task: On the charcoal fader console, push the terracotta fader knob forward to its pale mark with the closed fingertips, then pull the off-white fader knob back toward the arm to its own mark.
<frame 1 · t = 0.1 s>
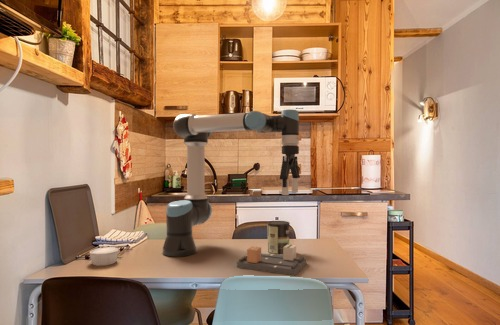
hand: (290, 193, 150), 28 cm above the table, tool pointing down, fingers open, 13 cm apart
terracotta fader knob: (254, 254, 137), point 5 cm above the table, slide at 2.0 cm
coffee can: (278, 253, 158), on the table
ramekin: (104, 263, 142), on the table
console: (272, 265, 139), on the table
off-white fader knob: (289, 252, 140), point 5 cm above the table, slide at 14.0 cm
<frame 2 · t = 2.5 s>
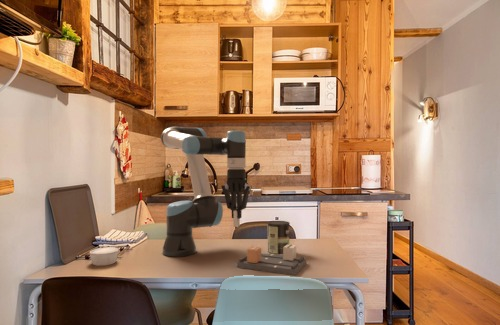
hand: (236, 226, 140), 16 cm above the table, tool pointing down, fingers closed
nothing on the table moved.
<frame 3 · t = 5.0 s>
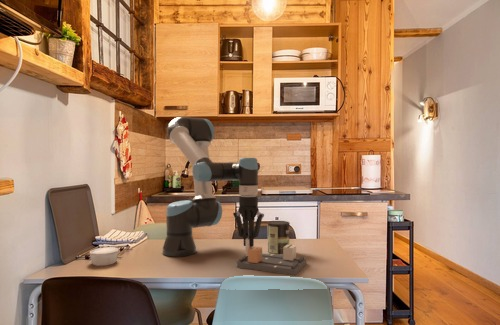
hand: (248, 254, 138), 5 cm above the table, tool pointing down, fingers closed
terracotta fader knob: (255, 254, 137), point 5 cm above the table, slide at 2.4 cm, touching gripper
everything else where it was.
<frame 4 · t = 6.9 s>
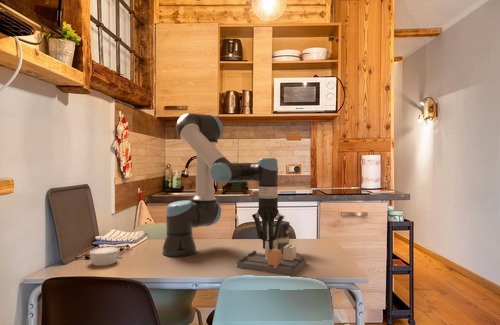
hand: (268, 257, 134), 4 cm above the table, tool pointing down, fingers closed
terracotta fader knob: (274, 256, 133), point 5 cm above the table, slide at 10.7 cm, touching gripper
everything else where it was.
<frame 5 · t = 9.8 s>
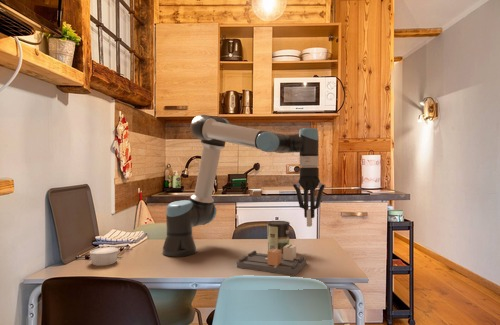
hand: (309, 225, 137), 16 cm above the table, tool pointing down, fingers closed
terracotta fader knob: (274, 256, 133), point 5 cm above the table, slide at 10.7 cm
everything else where it was.
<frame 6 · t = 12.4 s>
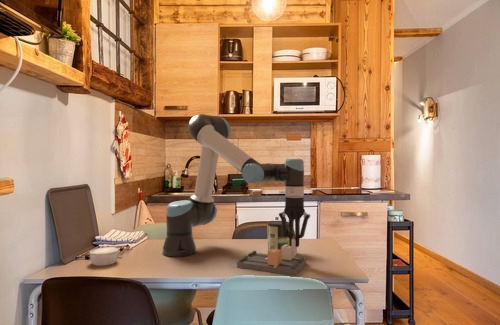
hand: (294, 254, 139), 4 cm above the table, tool pointing down, fingers closed
off-white fader knob: (287, 252, 141), point 5 cm above the table, slide at 13.2 cm, touching gripper
everything else where it was.
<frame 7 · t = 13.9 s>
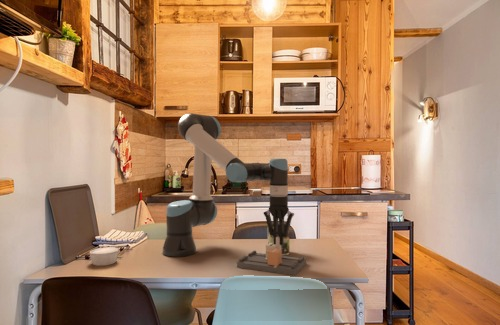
hand: (278, 252, 142), 4 cm above the table, tool pointing down, fingers closed
off-white fader knob: (272, 250, 143), point 5 cm above the table, slide at 6.4 cm, touching gripper
everything else where it was.
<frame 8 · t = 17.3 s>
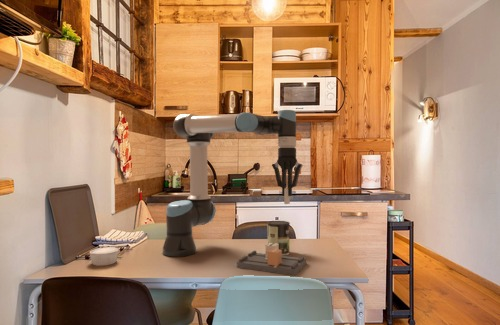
hand: (287, 203, 143), 24 cm above the table, tool pointing down, fingers closed
off-white fader knob: (272, 250, 143), point 5 cm above the table, slide at 6.3 cm
everything else where it was.
at the end: terracotta fader knob slide at 10.7 cm; off-white fader knob slide at 6.3 cm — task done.
